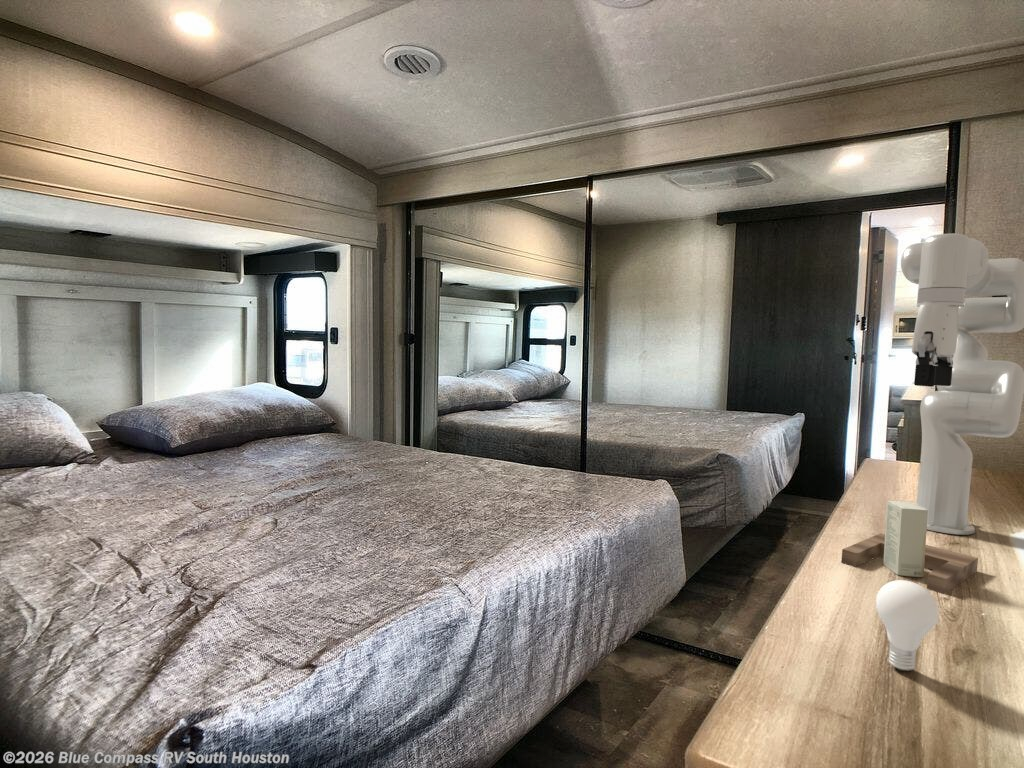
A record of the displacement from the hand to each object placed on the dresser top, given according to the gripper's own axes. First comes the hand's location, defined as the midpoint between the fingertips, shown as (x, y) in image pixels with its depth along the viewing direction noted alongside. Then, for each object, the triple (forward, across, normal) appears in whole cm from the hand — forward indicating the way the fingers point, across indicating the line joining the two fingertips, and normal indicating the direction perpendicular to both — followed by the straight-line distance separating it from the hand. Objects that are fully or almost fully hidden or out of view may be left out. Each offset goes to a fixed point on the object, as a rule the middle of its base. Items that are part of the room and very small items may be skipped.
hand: (932, 385), depth 114 cm
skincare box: (+34, +16, +2) cm, 37 cm away
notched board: (+33, +13, +2) cm, 36 cm away
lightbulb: (+34, +55, +15) cm, 66 cm away
